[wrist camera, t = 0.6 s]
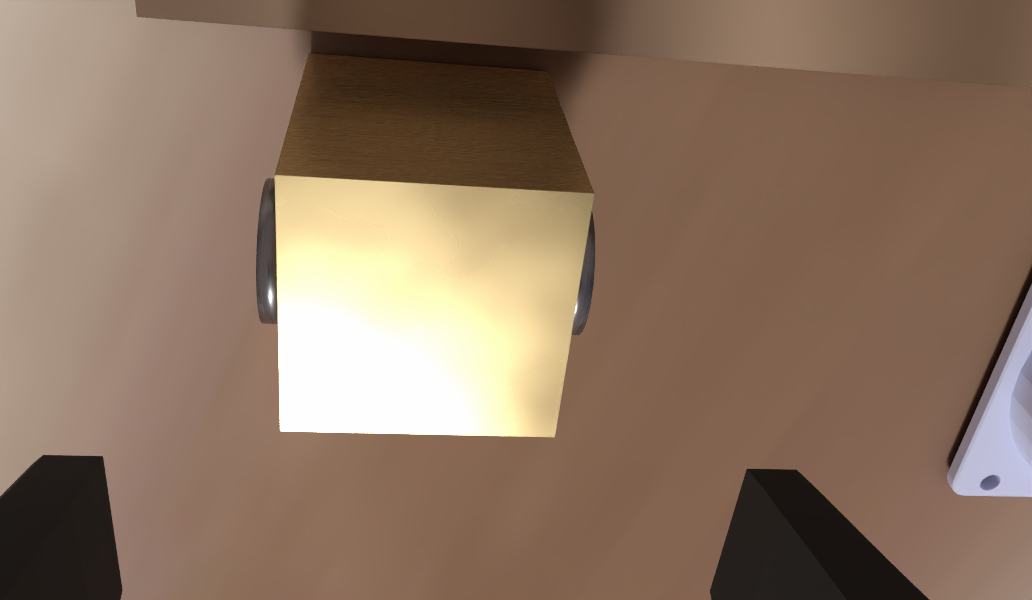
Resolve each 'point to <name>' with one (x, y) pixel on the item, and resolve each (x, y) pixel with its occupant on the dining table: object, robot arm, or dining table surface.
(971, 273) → the dining table surface
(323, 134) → the block
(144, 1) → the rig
